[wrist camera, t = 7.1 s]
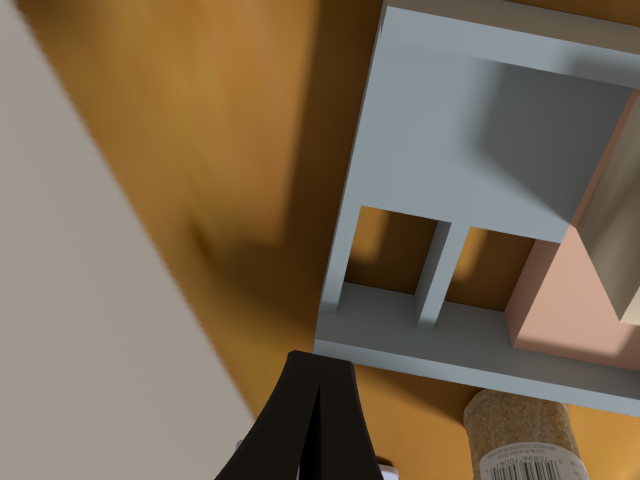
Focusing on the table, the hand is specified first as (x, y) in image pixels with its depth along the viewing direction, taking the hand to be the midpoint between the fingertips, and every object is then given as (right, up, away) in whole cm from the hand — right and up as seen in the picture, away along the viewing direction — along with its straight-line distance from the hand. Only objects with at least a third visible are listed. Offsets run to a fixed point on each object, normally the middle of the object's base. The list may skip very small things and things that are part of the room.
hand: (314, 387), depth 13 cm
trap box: (+8, +5, +8) cm, 12 cm away
